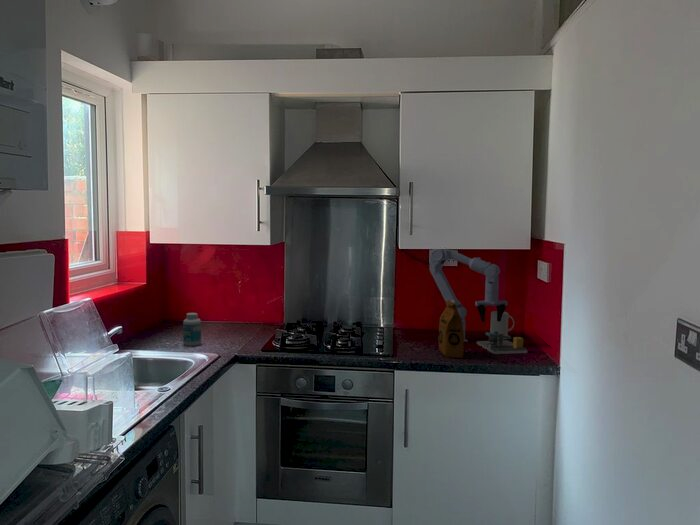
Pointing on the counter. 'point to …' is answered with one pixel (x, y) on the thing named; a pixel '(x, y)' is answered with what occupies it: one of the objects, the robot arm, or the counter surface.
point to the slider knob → (517, 342)
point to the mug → (500, 323)
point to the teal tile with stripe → (498, 335)
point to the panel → (501, 346)
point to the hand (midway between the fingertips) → (490, 321)
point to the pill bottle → (192, 330)
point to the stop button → (492, 339)
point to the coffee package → (451, 332)
